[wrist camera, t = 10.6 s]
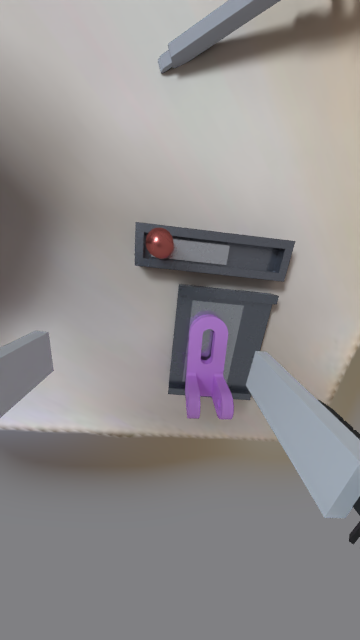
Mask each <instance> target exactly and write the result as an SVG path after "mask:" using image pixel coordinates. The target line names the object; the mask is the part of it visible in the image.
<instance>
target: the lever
mask: <svg viewBox="0 0 360 640" xmlns="http://www.w3.org/2000/svg"><path fill="white" fill-rule="evenodd" d="M146 247H147V250H148V251H149V253H150V254H151V257H156V258H159V259H162V260H166V259H174V260H183V261H192V262H201V263H210V264H219V265H226V264H227V259H228V253H229V247H230V246H228V245H220V244H211V243H203V242H194V241H186V240H177V239H173V238H172V235H171V234H170V232H169V231H167V230H166V229H164V228H154V229H152V230H151V231H150V232H149V233H148V235H147V237H146Z"/></svg>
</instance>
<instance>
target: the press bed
mask: <svg viewBox="0 0 360 640" xmlns="http://www.w3.org/2000/svg"><path fill="white" fill-rule="evenodd" d="M278 297H279V296H277V295H274V294H270V293H260V292H250V291H241V290H231V289H222V288H212V287H203V286H193V285H184V284H179V289H178V299H177V309H176V319H175V329H174V339H173V349H172V359H171V369H170V378H169V390H168V394H175V395H185V383H186V369H187V355H188V341H189V329H190V326H191V324H192V322H193V321H194V320H195V319H196V318H198V317H199V316H202V315H206V314H210V315H214V316H217V317H218V318H220V319H221V320H222V321H223V322H224V323H225V325H226V326H227V329H228V340H227V348H226V356H225V364H224V372H223V377H224V379H225V381H226V383H227V385H228V387H229V390H230V392H231V394H232V398H233V399H242V400H250V397H251V393H250V391H249V390H248V388H247V386H246V383H247V379H248V376H249V372H250V369H251V365H252V362H253V358H254V355H255V351H260V348H261V344H262V340H263V337H264V333H265V329H266V326H267V322H268V319H269V315H270V311H271V308H272V304H277V301H278ZM212 341H213V330H212V329H207V330H205V331H204V332H203V337H202V348H201V359H202V360H208V359H209V358H210V357H211V350H212ZM201 397H210V396H201Z"/></svg>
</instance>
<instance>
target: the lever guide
mask: <svg viewBox="0 0 360 640" xmlns="http://www.w3.org/2000/svg"><path fill="white" fill-rule="evenodd" d="M154 228H164V229H166V230H167V231H169V232H170V234H171V235H172V238H173V239H177V240H186V241H194V242H203V243H211V244H220V245H228V246H230V247H229V253H228V259H227V264H226V265H219V264H210V263H201V262H192V261H183V260H174V259H166V260H162V259H159V258H156V257H151V254H150V253H149V251H148V250H147V247H146V237H147V235H148V233H149V232H150V231H151V230H152V229H154ZM294 244H295V241H289V240H280V239H272V238H264V237H255V236H247V235H239V234H230V233H222V232H214V231H206V230H197V229H189V228H181V227H172V226H164V225H156V224H147V223H139V222H136V231H135V265H136V266H145V267H154V268H163V269H173V270H182V271H191V272H200V273H209V274H219V275H228V276H237V277H246V278H256V279H265V280H274V281H283V282H284V279H285V276H286V272H287V269H288V265H289V262H290V258H291V255H292V251H293V247H294Z"/></svg>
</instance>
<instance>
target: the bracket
mask: <svg viewBox="0 0 360 640" xmlns="http://www.w3.org/2000/svg"><path fill="white" fill-rule="evenodd" d="M207 329H212V330H213V341H212V350H211V357H210V358H209V359H208V360H202V359H201V348H202V337H203V332H204V331H205V330H207ZM227 340H228V329H227V326H226V325H225V323H224V322H223V321H222V320H221V319H220V318H218V317H217V316H214V315H210V314H206V315H202V316H199V317H198V318H196V319H195V320H194V321H193V322H192V324H191V326H190V329H189V341H188V355H187V369H186V383H185V396H186V409H187V418H198V419H199V417H200V396H210V397H212V399H213V403H214V406H215V409H216V413H217V416H218V418H219V419H232V417H233V412H234V405H233V398H232V394H231V392H230V390H229V387H228V385H227V383H226V381H225V379H224V377H223V372H224V364H225V356H226V348H227Z"/></svg>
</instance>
